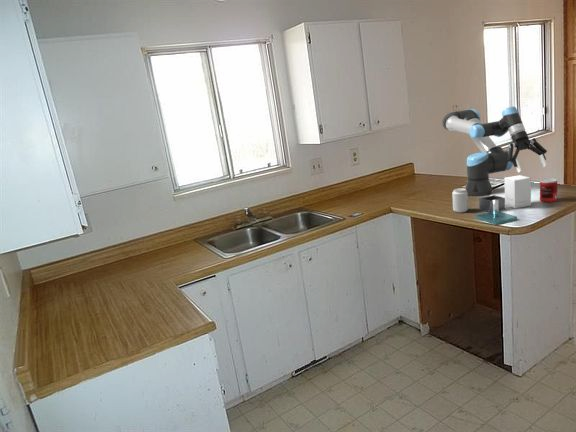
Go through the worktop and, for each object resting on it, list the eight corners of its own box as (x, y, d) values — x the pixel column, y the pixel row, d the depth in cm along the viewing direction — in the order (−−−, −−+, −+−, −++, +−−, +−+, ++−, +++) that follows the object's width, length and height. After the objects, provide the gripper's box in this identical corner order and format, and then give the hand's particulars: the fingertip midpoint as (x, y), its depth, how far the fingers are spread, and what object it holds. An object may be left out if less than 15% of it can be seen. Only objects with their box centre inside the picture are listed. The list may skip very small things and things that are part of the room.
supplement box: (531, 206, 217) (531, 177, 213) (514, 209, 217) (514, 180, 213) (520, 202, 226) (520, 174, 222) (504, 205, 226) (503, 177, 222)
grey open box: (479, 209, 225) (479, 198, 223) (494, 206, 226) (494, 195, 225) (489, 212, 217) (489, 201, 216) (505, 209, 219) (504, 197, 217)
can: (450, 210, 230) (449, 189, 227) (464, 208, 231) (463, 186, 228) (457, 213, 223) (456, 191, 220) (470, 211, 223) (470, 189, 220)
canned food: (552, 197, 225) (552, 177, 222) (560, 201, 217) (560, 180, 215) (536, 199, 226) (537, 179, 223) (544, 203, 218) (544, 182, 216)
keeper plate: (475, 218, 212) (475, 199, 210) (496, 213, 215) (496, 195, 212) (495, 224, 199) (494, 205, 197) (517, 219, 201) (517, 200, 199)
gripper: (498, 135, 227) (512, 171, 221) (544, 125, 227) (559, 161, 221) (493, 141, 234) (506, 176, 228) (537, 132, 234) (551, 166, 228)
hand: (532, 169), depth 225 cm, fingers open, 13 cm apart
